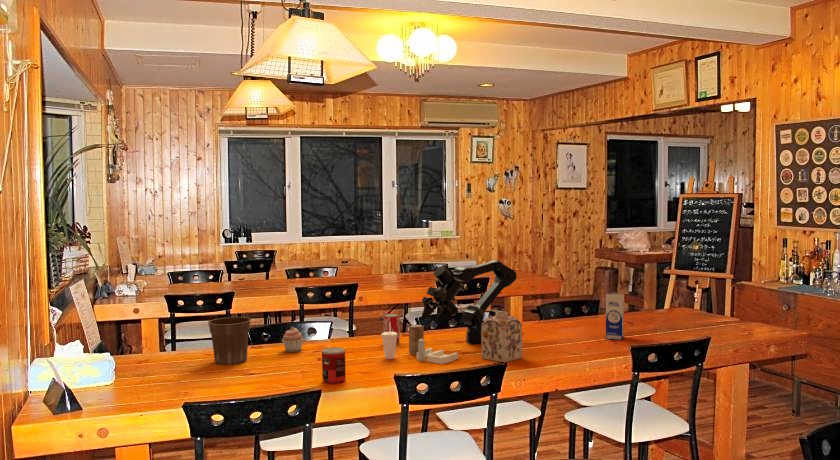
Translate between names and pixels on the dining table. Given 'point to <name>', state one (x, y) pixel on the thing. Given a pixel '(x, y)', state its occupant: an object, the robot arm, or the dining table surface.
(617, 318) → the milk carton
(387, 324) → the soda can
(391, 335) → the smoothie
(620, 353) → the dining table surface
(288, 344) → the cupcake
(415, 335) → the brown long block
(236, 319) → the plant pot
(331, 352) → the canned food
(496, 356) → the decorative jar
